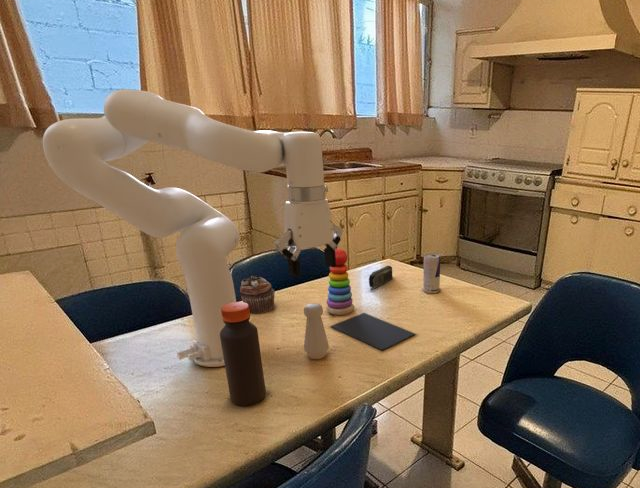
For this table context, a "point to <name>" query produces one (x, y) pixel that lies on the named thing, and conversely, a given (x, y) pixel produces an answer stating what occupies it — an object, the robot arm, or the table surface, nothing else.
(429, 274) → the energy drink
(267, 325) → the table surface
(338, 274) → the stacking toy
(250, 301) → the cupcake
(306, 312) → the salt shaker
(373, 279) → the mobile phone
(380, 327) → the mat
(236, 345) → the bottle
